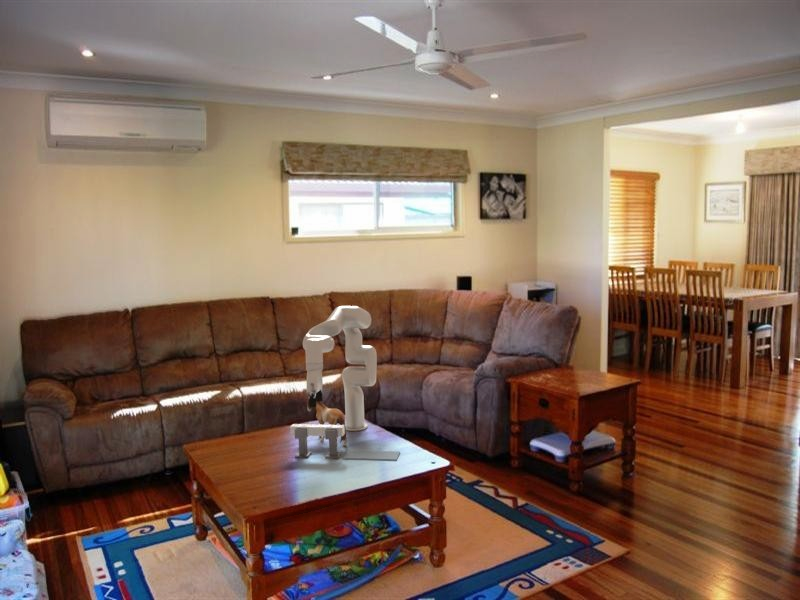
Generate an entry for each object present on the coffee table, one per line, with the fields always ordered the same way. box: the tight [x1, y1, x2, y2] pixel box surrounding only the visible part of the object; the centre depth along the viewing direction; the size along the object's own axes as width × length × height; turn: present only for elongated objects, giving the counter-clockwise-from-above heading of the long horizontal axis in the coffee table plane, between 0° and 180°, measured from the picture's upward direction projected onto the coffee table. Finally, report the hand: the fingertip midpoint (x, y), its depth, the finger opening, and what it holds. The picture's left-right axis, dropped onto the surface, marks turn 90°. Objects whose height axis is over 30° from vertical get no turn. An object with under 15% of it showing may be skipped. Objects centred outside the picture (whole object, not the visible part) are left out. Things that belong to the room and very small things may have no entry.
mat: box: [342, 449, 401, 461], centre depth 300 cm, size 10×24×1 cm, turn 81°
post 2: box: [324, 430, 343, 460], centre depth 300 cm, size 7×6×13 cm
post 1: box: [294, 429, 313, 459], centre depth 302 cm, size 7×6×13 cm
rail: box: [289, 423, 345, 437], centre depth 301 cm, size 4×24×4 cm, turn 81°
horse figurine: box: [305, 396, 348, 447], centre depth 318 cm, size 31×8×21 cm, turn 39°
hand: (316, 404), depth 299 cm, fingers open, 9 cm apart
